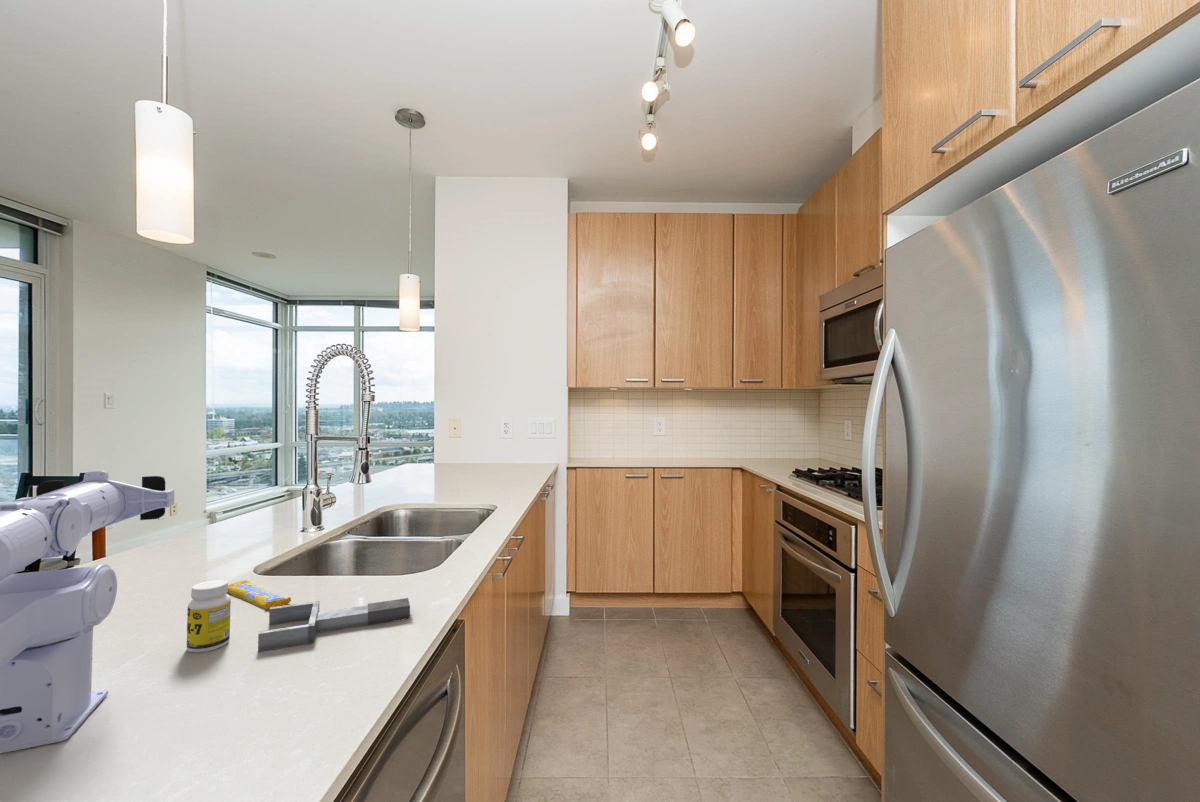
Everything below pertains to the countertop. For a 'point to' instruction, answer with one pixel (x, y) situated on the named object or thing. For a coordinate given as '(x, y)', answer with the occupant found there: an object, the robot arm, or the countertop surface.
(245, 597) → the candy bar
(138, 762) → the countertop surface
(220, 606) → the supplement bottle
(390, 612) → the open-end wrench
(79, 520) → the robot arm
